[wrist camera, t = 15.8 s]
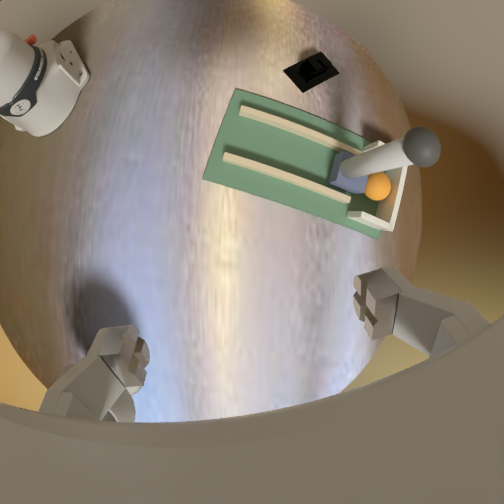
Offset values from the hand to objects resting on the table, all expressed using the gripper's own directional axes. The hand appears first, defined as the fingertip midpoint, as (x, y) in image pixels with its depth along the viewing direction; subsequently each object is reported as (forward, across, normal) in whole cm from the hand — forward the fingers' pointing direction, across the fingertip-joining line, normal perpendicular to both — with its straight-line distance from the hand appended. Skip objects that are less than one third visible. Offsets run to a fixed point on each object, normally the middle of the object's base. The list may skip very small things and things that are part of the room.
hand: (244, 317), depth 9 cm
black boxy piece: (+42, -18, -13) cm, 47 cm away
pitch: (+35, -13, +2) cm, 37 cm away
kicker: (+34, -17, +5) cm, 38 cm away
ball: (+31, -22, +7) cm, 39 cm away
